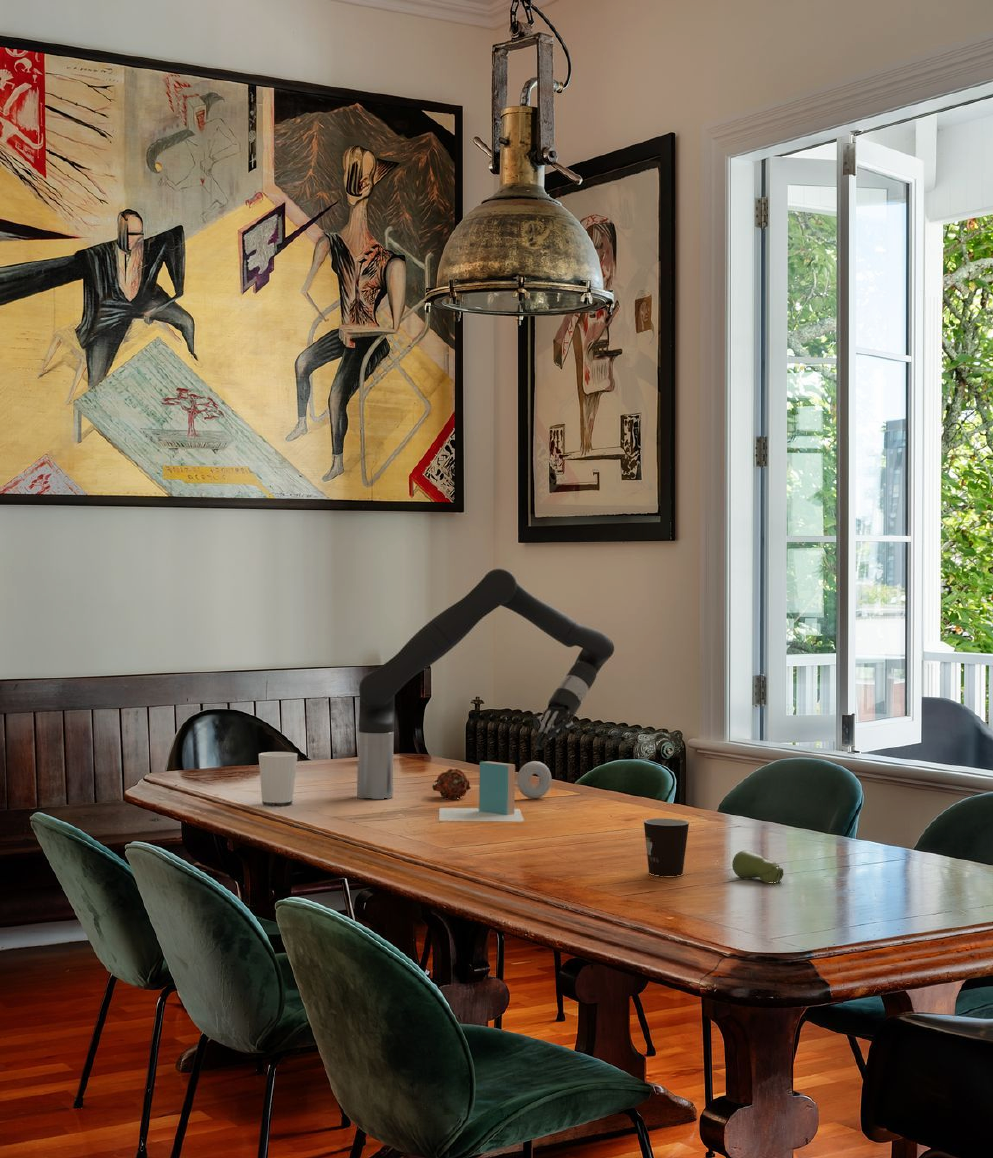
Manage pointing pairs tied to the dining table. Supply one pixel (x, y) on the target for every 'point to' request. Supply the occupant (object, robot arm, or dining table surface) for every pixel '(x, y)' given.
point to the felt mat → (476, 815)
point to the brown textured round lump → (452, 784)
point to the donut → (524, 779)
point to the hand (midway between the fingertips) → (537, 747)
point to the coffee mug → (666, 845)
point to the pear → (756, 867)
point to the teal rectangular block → (497, 788)
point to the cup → (277, 777)
